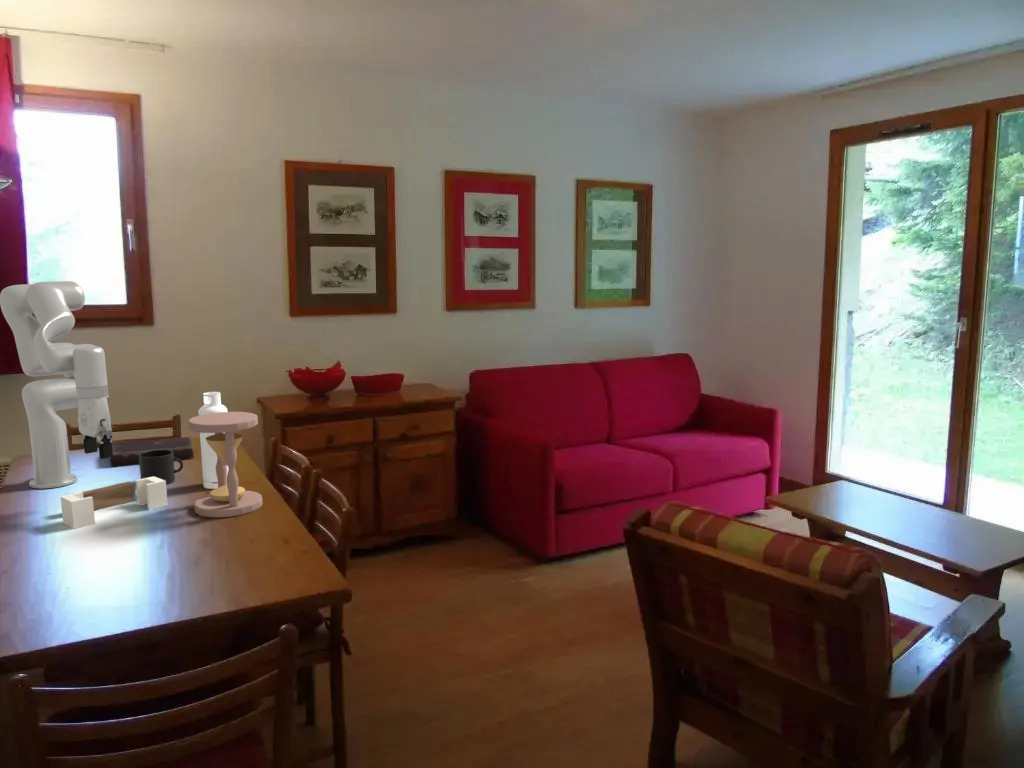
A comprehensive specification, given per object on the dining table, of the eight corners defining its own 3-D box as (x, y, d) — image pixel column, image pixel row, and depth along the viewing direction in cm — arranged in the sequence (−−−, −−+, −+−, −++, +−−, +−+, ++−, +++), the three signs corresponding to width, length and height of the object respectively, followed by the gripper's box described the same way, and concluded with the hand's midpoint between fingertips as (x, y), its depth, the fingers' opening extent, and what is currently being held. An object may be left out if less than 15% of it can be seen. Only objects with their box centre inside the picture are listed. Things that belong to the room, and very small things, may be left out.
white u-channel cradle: (63, 522, 198) (60, 496, 197) (155, 500, 216) (153, 476, 215) (74, 528, 194) (71, 501, 192) (167, 505, 212) (165, 480, 211)
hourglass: (195, 501, 215) (189, 414, 211) (260, 494, 221) (256, 409, 217) (193, 521, 199) (186, 427, 195) (264, 513, 205) (259, 421, 201)
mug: (184, 483, 232) (182, 454, 231) (140, 488, 228) (137, 458, 226) (184, 475, 241) (182, 447, 239) (142, 479, 236) (139, 451, 235)
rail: (68, 513, 205) (66, 495, 205) (130, 498, 218) (129, 481, 217) (73, 515, 203) (71, 497, 202) (135, 500, 216) (134, 483, 215)
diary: (194, 461, 261) (193, 446, 260) (111, 470, 250) (110, 455, 249) (190, 448, 277) (189, 434, 277) (112, 456, 267) (111, 441, 266)
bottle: (197, 487, 229) (190, 394, 224) (217, 479, 236) (211, 390, 231) (218, 490, 226) (212, 396, 221) (237, 482, 233) (232, 391, 228)
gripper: (64, 391, 208) (71, 453, 211) (91, 398, 197) (97, 462, 200) (93, 388, 214) (99, 448, 216) (121, 394, 203) (127, 457, 205)
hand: (98, 455), depth 208 cm, fingers open, 9 cm apart
